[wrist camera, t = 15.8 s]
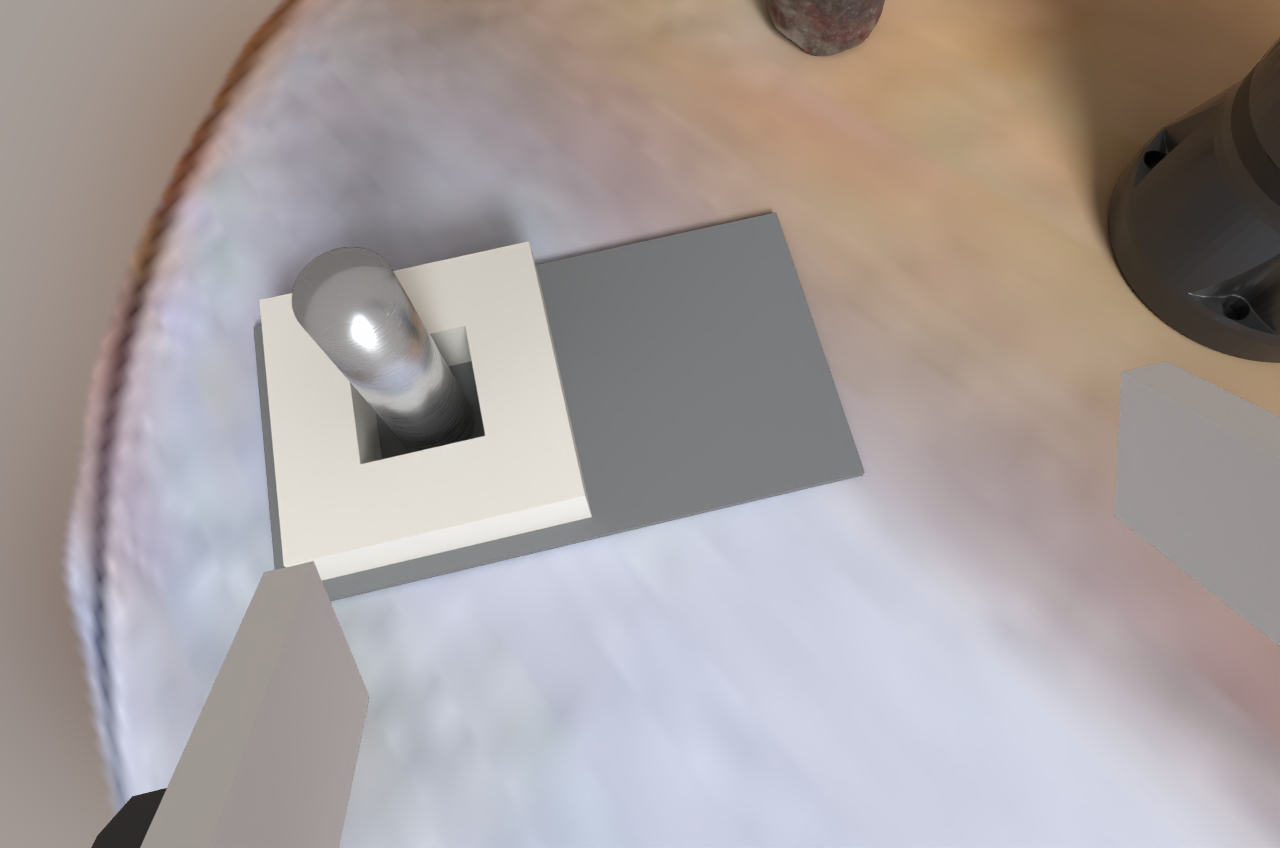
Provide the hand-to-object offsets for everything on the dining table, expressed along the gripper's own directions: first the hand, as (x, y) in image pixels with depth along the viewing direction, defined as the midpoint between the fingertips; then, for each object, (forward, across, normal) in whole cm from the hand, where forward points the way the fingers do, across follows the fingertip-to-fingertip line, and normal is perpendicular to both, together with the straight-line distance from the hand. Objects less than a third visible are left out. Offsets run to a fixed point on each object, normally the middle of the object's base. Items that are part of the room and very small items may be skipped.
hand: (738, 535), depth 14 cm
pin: (+32, -10, -10) cm, 34 cm away
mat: (+32, -4, -10) cm, 34 cm away
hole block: (+32, -10, -10) cm, 35 cm away
